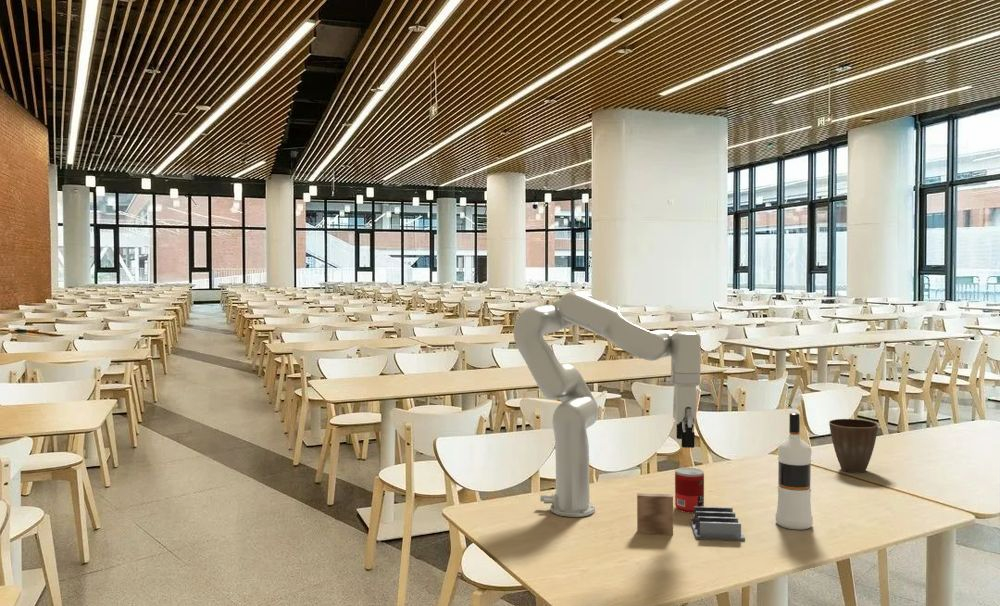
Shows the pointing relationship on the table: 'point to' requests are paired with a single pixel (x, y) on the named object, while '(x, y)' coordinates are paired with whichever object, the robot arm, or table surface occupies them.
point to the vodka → (794, 480)
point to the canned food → (689, 489)
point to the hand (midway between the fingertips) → (685, 442)
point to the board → (655, 514)
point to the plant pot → (853, 442)
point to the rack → (716, 524)
